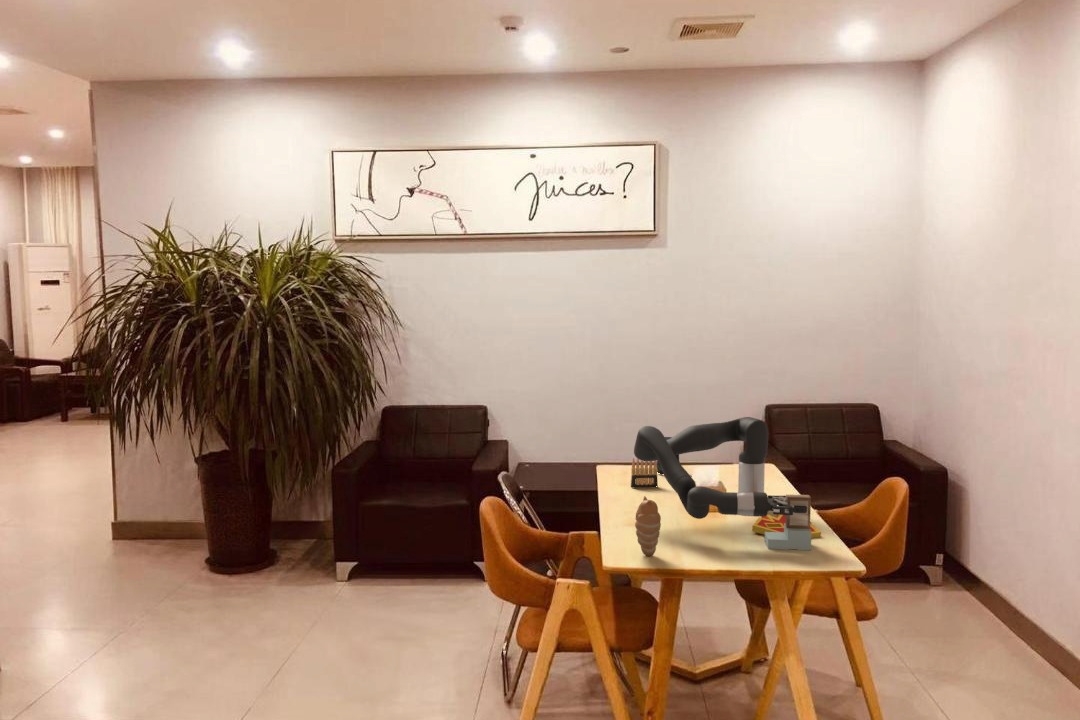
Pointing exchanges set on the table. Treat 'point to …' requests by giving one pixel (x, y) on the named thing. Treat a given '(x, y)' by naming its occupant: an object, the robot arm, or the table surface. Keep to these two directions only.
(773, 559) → the table surface
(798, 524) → the frame
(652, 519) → the brown ribbed tall piece
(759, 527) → the wall decoration
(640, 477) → the ammunition clip
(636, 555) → the table surface
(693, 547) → the table surface
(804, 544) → the blue-grey stepped block
